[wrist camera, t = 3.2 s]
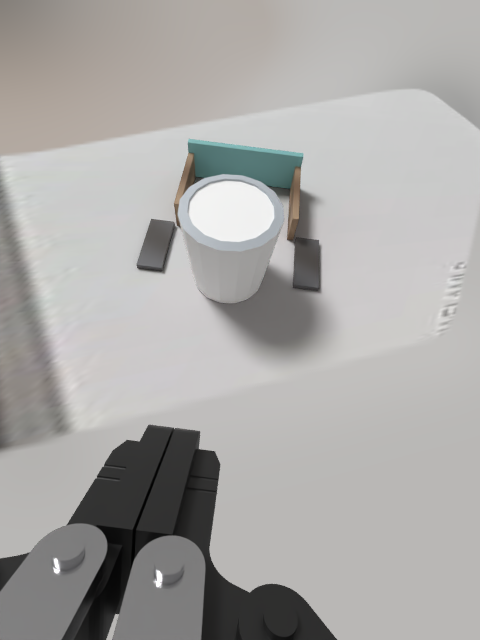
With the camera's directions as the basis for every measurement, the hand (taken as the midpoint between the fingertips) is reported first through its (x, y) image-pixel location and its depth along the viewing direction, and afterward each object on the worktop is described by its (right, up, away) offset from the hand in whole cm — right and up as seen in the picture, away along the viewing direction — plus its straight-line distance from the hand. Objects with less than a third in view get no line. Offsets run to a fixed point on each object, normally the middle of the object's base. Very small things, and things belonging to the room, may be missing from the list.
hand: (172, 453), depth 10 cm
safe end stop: (+2, +17, +24) cm, 29 cm away
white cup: (+1, +8, +18) cm, 20 cm away
